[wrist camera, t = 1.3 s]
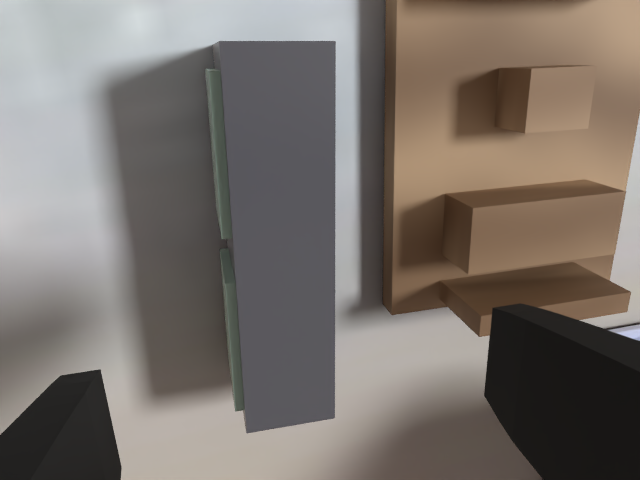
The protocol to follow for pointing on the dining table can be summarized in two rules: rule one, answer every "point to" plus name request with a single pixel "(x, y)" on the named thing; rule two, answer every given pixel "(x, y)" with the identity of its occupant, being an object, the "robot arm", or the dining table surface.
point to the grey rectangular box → (276, 224)
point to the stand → (507, 154)
